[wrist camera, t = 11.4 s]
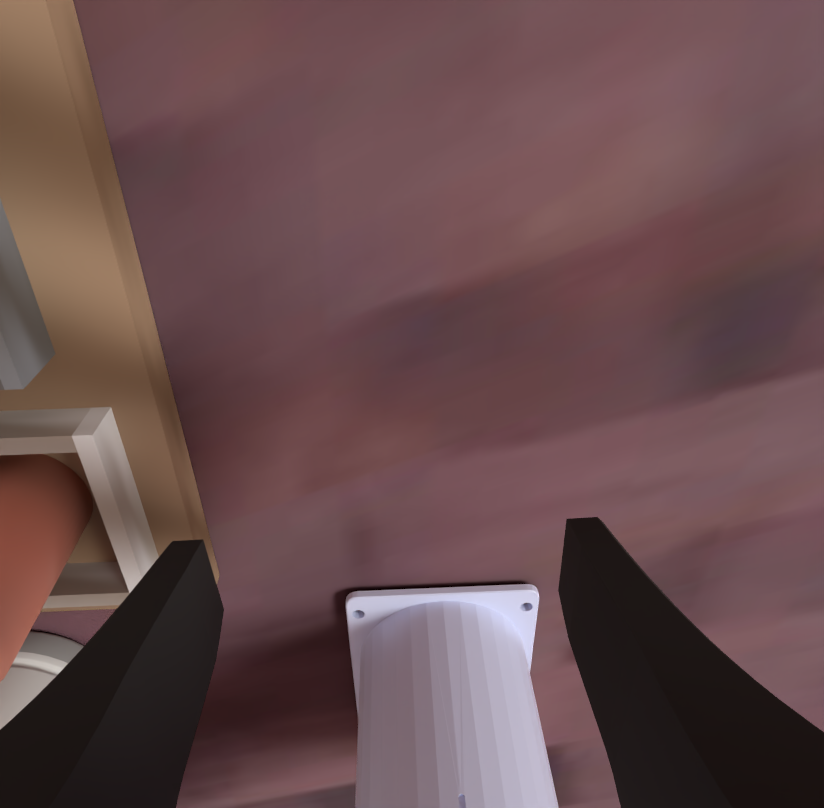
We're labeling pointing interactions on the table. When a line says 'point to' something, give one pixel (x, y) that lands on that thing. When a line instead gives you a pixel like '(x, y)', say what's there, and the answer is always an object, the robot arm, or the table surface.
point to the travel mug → (33, 671)
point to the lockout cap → (34, 539)
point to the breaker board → (82, 317)
